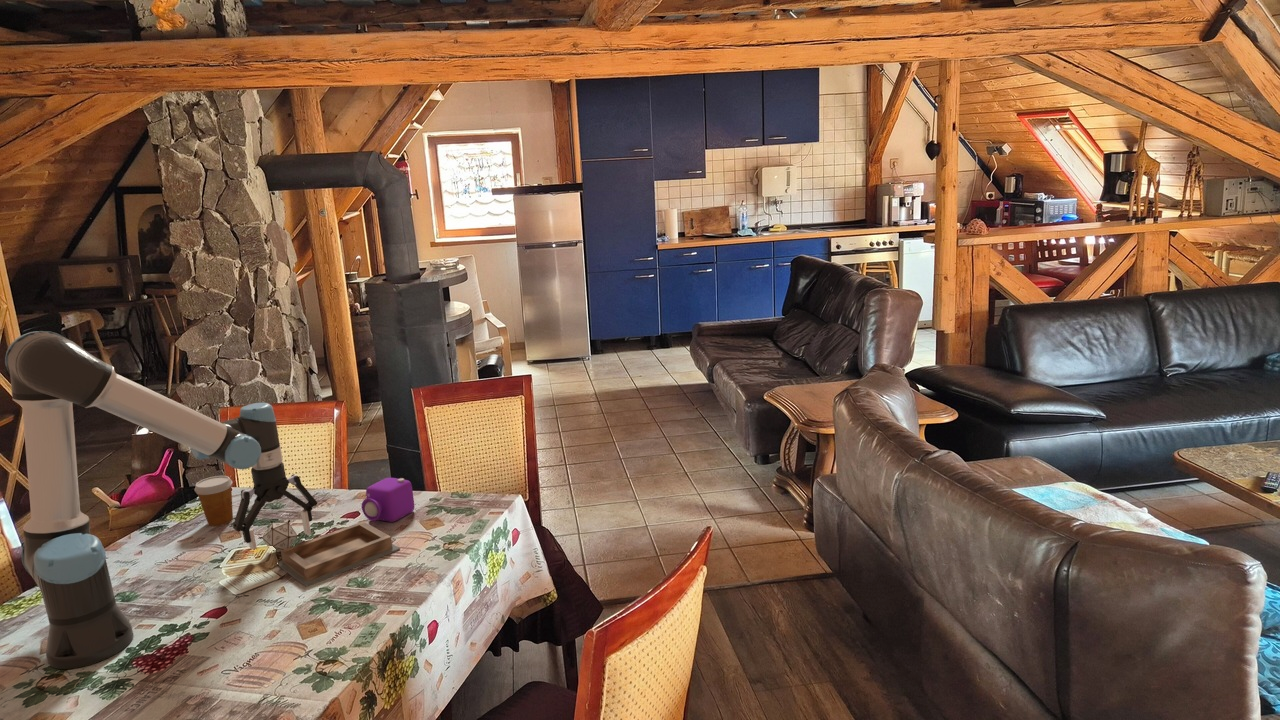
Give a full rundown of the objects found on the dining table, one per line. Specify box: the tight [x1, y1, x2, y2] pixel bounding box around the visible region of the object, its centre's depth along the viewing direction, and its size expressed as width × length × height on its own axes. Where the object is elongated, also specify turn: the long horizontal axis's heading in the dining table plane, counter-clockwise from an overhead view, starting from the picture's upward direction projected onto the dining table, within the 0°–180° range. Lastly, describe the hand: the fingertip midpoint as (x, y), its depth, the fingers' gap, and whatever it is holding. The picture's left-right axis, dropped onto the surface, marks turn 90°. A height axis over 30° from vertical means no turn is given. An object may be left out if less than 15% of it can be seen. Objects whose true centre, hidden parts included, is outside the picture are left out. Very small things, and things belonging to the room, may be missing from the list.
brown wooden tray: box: [280, 521, 393, 581], centre depth 209 cm, size 22×15×4 cm
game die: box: [258, 519, 302, 552], centre depth 214 cm, size 9×8×10 cm
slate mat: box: [277, 543, 401, 587], centre depth 209 cm, size 24×18×1 cm
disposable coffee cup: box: [194, 475, 234, 527], centre depth 235 cm, size 10×10×12 cm
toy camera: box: [361, 477, 416, 523], centre depth 230 cm, size 11×14×10 cm
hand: (281, 543), depth 214 cm, fingers open, 13 cm apart
